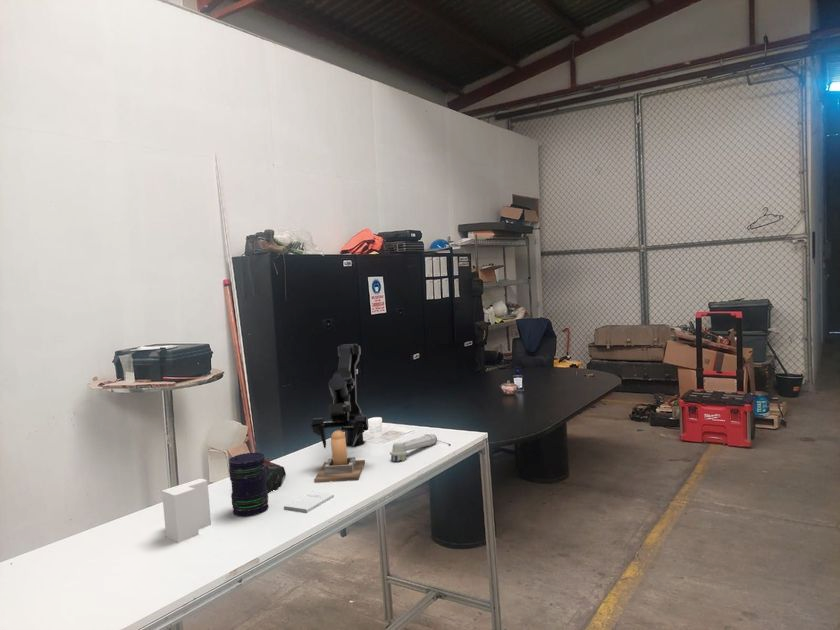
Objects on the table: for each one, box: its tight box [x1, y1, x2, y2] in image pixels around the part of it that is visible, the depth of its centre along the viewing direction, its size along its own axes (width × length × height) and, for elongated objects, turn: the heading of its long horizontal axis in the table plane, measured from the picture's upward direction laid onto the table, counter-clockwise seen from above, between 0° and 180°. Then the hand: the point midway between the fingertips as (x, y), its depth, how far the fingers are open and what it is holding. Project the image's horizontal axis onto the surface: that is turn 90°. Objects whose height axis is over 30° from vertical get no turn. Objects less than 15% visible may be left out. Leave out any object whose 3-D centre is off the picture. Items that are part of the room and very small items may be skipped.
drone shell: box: [264, 458, 286, 494], centre depth 187 cm, size 21×20×8 cm
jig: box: [314, 457, 366, 483], centre depth 193 cm, size 18×14×3 cm
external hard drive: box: [283, 490, 335, 514], centre depth 166 cm, size 2×8×12 cm
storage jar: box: [228, 452, 269, 518], centre depth 164 cm, size 10×10×15 cm
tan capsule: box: [330, 429, 348, 465], centre depth 193 cm, size 5×5×13 cm
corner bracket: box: [161, 478, 212, 544], centre depth 153 cm, size 11×11×12 cm
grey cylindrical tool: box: [389, 433, 438, 462], centre depth 210 cm, size 5×7×25 cm
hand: (338, 446), depth 192 cm, fingers open, 9 cm apart
